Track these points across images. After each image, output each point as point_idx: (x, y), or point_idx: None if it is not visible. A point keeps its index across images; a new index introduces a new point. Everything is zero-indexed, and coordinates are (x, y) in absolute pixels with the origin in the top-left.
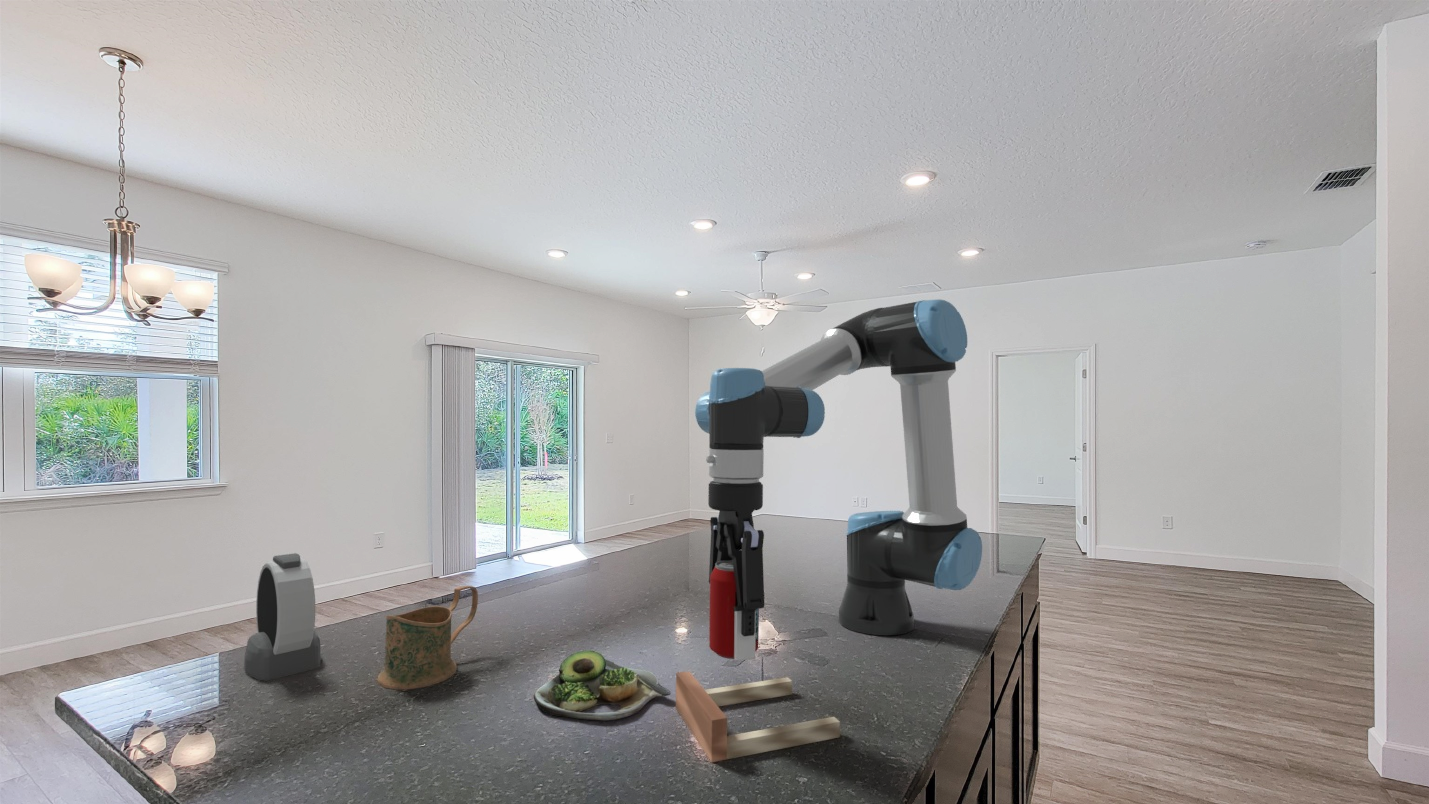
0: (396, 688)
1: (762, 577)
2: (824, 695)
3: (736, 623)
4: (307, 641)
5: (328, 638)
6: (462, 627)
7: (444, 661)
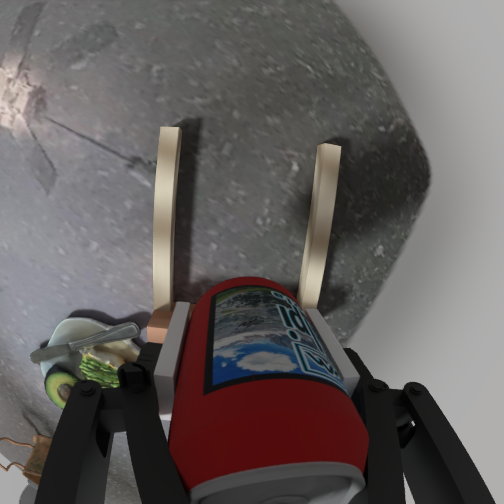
0: None
1: (457, 441)
2: (210, 84)
3: None
4: None
5: (13, 458)
6: (15, 442)
7: None
